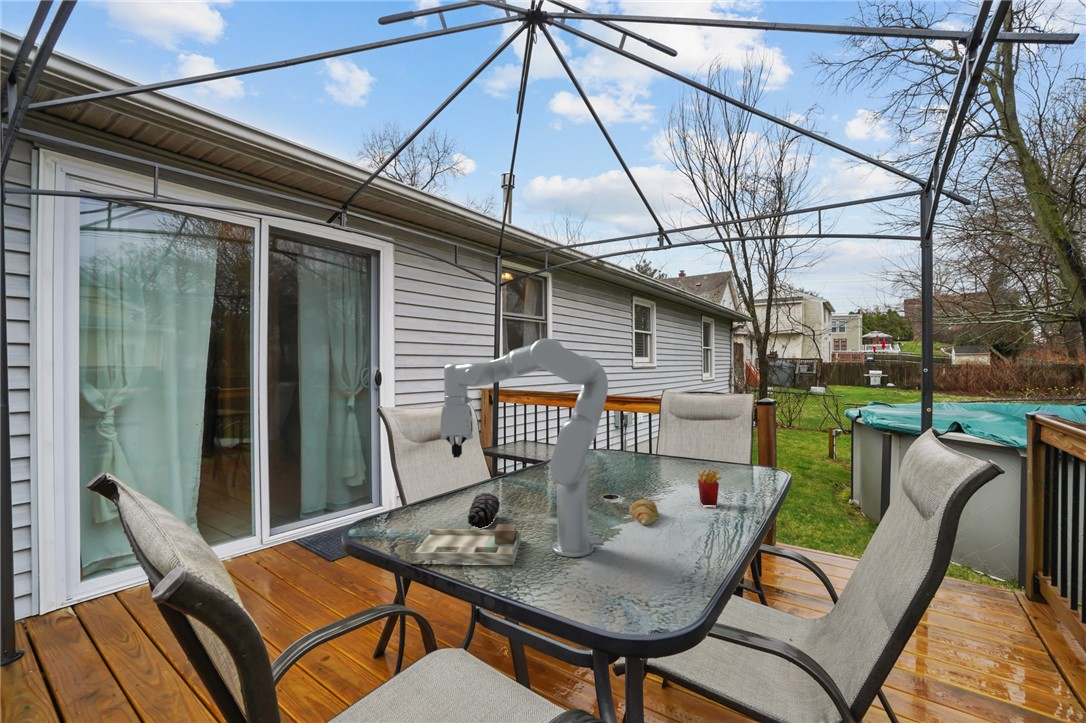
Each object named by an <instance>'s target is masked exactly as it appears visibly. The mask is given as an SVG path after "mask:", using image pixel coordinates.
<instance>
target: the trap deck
mask: <svg viewBox="0 0 1086 723" xmlns="http://www.w3.org/2000/svg"><path fill="white" fill-rule="evenodd" d="M521 531H522V530H521V529H516V539H515V542H514V544H495V529H482V530H470V529H461V528H460V529H458V528H457V529H453V528H452V529H450V528H449V529H448V528H447V529H446V528H445V529H443V528H442V529H441V528H440V529H439V528H435V529H431V528H429V535H428V536H427V537H426V538H425V539H424V540H423V542H422V543H421V544H420V545H419V547H418V548H417V549H416V550H415V551H410V552H409V557H410V558H409V560H410V559H417V560H439V561H440V560H441V561H450V562H465V563H466V562H467V563H479V564H494V565H495V564H497V565H513V566H514V565H515V562H516V559H517V555H518V552H519V549H518V548H520V544H521V542H522V538H521V537H522V532H521ZM437 549H446V550H458V551H457V552H436V550H437ZM476 552H488V553H476ZM489 552H490V553H489ZM515 558H516V559H515ZM514 561H515V562H514Z"/></svg>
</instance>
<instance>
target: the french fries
mask: <svg viewBox="0 0 1086 723" xmlns="http://www.w3.org/2000/svg"><path fill="white" fill-rule="evenodd" d="M697 474H698V478H699V479H697V483H698V494H699V502H701V503H702V504H703V505H717V506H718V499H719V498H718V496H719V495H718V494H719V488H720V487H719V486H720V484H719V482H718V481H719V480H721V479H722V476H721V475H719V474H720V471H718V470H717V469H716V470H712V469H711V468H709V469H708V470H707V469H704V470H703V471H700V470H698V471H697ZM717 475H718V476H717ZM701 503H700V504H701Z"/></svg>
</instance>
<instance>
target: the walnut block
mask: <svg viewBox="0 0 1086 723" xmlns="http://www.w3.org/2000/svg"><path fill="white" fill-rule="evenodd" d="M494 530H495V544H514V542H515V539H516V530H517V524H515V523H514V524H513V523H511V524H509V523H508V524H505V523H504V524H503V523H497V524H496V527H495V529H494Z"/></svg>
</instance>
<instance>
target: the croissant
mask: <svg viewBox="0 0 1086 723" xmlns="http://www.w3.org/2000/svg"><path fill="white" fill-rule="evenodd" d="M629 514H630V515H631V516H632V518H634V520H636V521H637V522H639V523H640V524H641V525H643V526H649V525H651V524H653V523H655V522H656V521H657V520H656V518H658V519H659V510H658V508H657V505H656V504H655V503H654V502H653V501H652V500H650V499H649V498H640V499H637V500H636V501H634V502H633V503H632V504H631V506H630V507H629Z"/></svg>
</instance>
